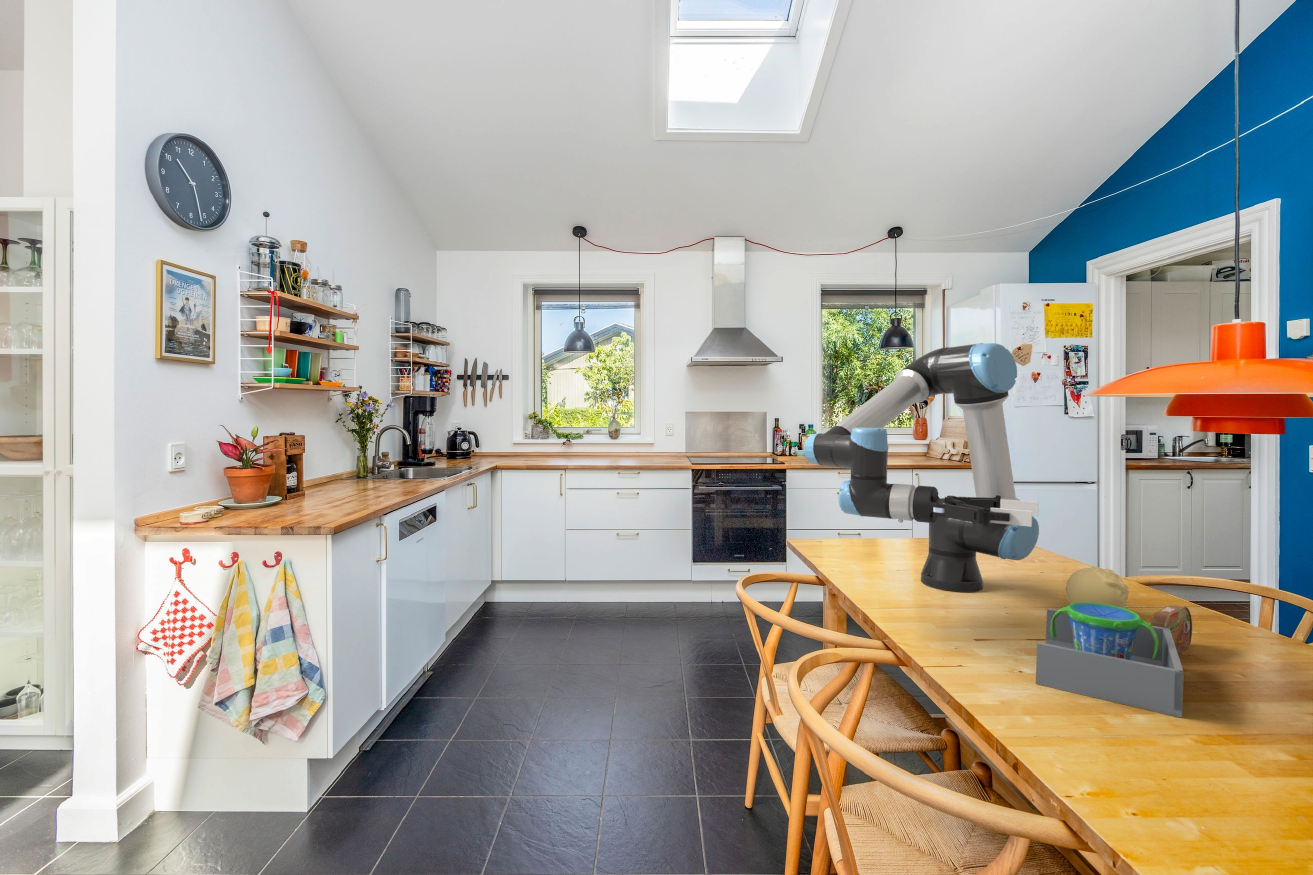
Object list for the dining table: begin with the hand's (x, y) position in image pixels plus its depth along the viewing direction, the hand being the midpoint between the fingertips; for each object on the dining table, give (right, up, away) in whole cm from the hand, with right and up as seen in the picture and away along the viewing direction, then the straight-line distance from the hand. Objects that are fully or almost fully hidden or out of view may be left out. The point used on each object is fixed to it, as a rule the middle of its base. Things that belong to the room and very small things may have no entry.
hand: (1035, 513), depth 113 cm
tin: (+30, -28, +6) cm, 42 cm away
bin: (+9, -28, -6) cm, 30 cm away
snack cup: (+9, -27, -4) cm, 29 cm away
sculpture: (+33, -27, +29) cm, 51 cm away
